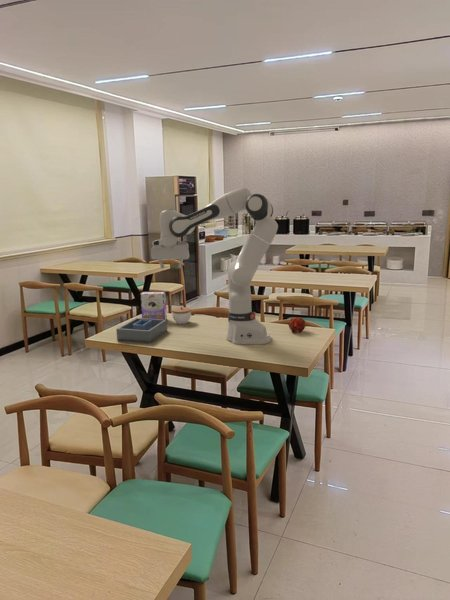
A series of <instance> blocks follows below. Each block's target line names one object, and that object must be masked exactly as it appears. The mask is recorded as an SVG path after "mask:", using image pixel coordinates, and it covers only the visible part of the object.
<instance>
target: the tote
mask: <svg viewBox="0 0 450 600" xmlns="http://www.w3.org/2000/svg"><path fill="white" fill-rule="evenodd" d="M151 328H152V320H140V321H138V322H136V323H135V324H133V329H134V330H149V329H151Z"/></svg>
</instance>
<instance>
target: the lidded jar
mask: <svg viewBox="0 0 450 600" xmlns="http://www.w3.org/2000/svg"><path fill="white" fill-rule="evenodd" d="M171 312H172V319H173V321H174V322H175V323H176V324H178V325H184V324H188V322H189V321H190V320H191V317H192V309H191V308H190V307H185V306H180V307H174V308H172V309H171Z"/></svg>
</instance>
